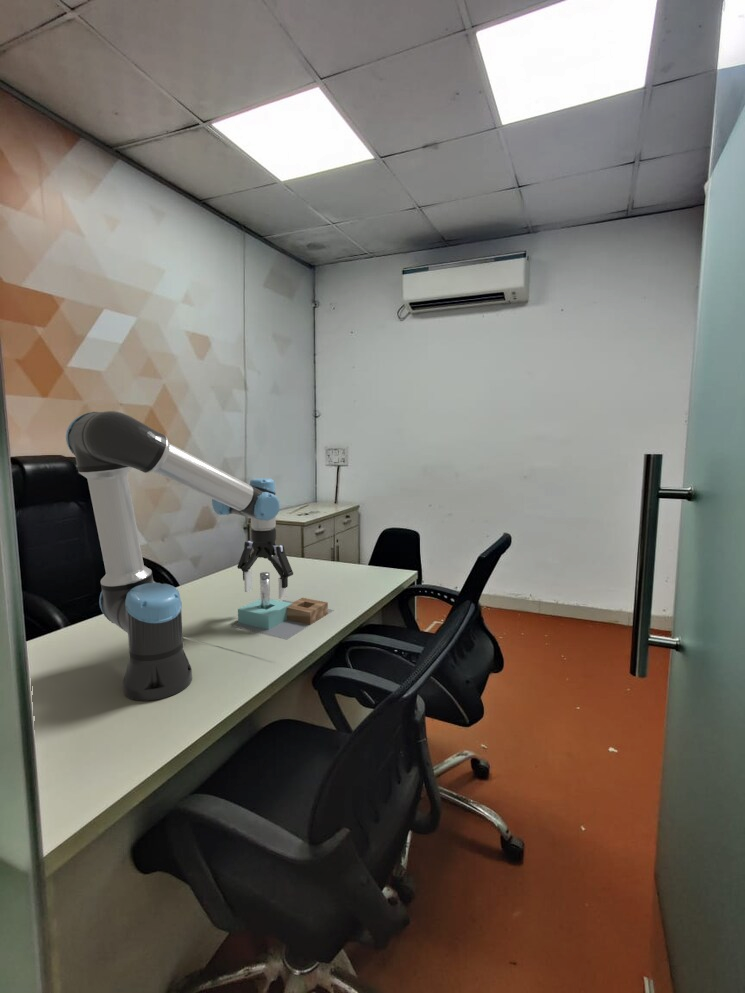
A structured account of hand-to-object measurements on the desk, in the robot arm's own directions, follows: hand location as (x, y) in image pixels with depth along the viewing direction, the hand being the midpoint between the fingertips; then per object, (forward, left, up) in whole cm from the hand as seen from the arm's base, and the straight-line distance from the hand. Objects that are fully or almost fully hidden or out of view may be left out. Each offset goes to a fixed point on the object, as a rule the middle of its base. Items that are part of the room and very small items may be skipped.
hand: (265, 594), depth 152 cm
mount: (+8, -10, -8) cm, 15 cm away
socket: (0, 0, -8) cm, 8 cm away
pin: (0, 0, -8) cm, 8 cm away
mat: (+4, -5, -9) cm, 11 cm away
